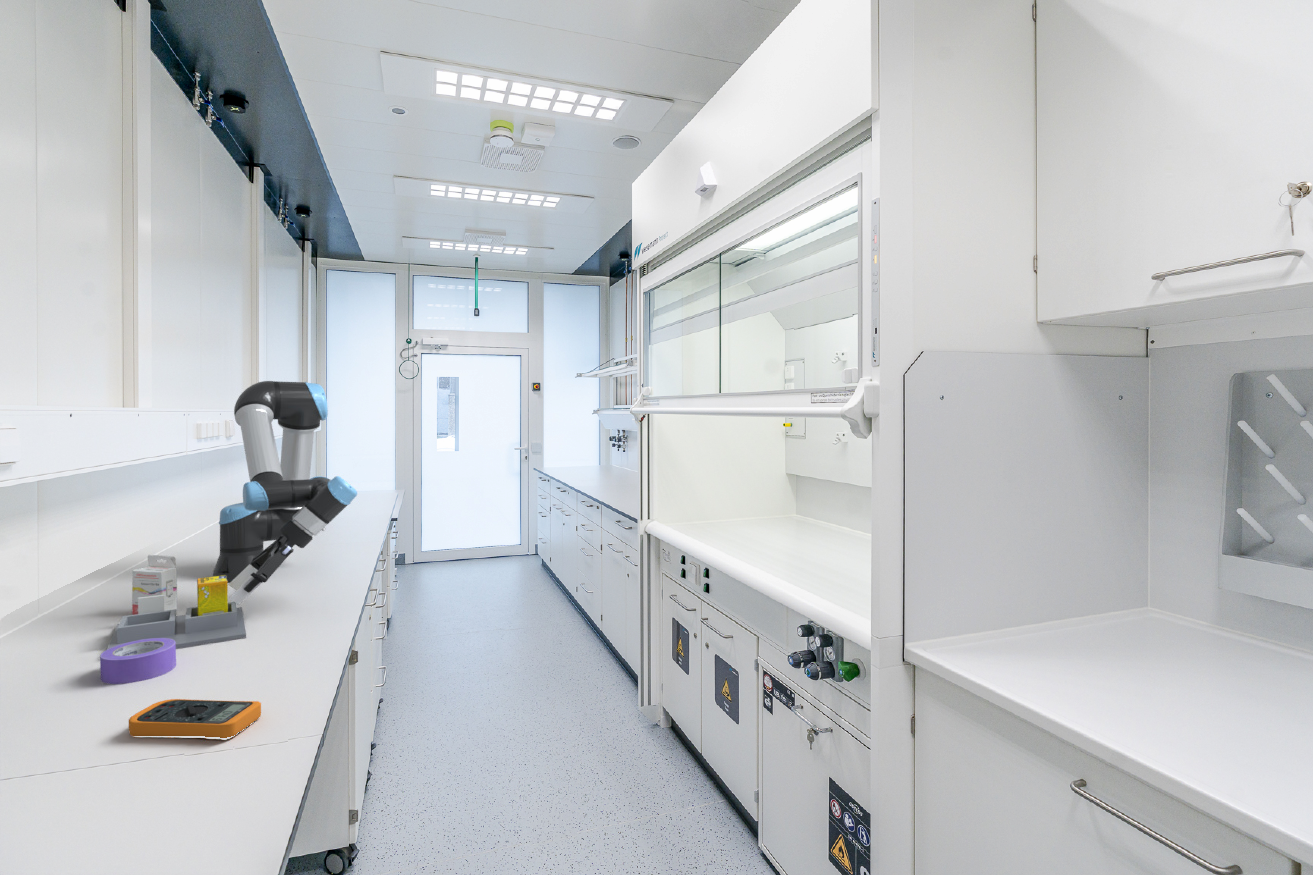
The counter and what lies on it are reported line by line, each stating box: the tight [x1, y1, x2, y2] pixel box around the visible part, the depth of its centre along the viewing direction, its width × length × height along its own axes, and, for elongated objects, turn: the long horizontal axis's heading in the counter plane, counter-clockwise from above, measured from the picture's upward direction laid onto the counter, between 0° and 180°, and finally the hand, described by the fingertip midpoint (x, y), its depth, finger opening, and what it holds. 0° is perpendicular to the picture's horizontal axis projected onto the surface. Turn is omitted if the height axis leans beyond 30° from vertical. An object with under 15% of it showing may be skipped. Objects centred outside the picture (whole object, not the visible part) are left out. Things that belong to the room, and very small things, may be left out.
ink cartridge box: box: [131, 554, 178, 615], centre depth 163 cm, size 9×5×15 cm, turn 84°
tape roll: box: [99, 638, 177, 685], centre depth 127 cm, size 12×12×5 cm
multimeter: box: [128, 698, 262, 738], centre depth 105 cm, size 9×18×3 cm, turn 89°
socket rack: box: [106, 595, 247, 650], centre depth 149 cm, size 24×25×7 cm
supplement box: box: [196, 575, 229, 616], centre depth 153 cm, size 6×6×11 cm
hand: (233, 594), depth 155 cm, fingers open, 13 cm apart
